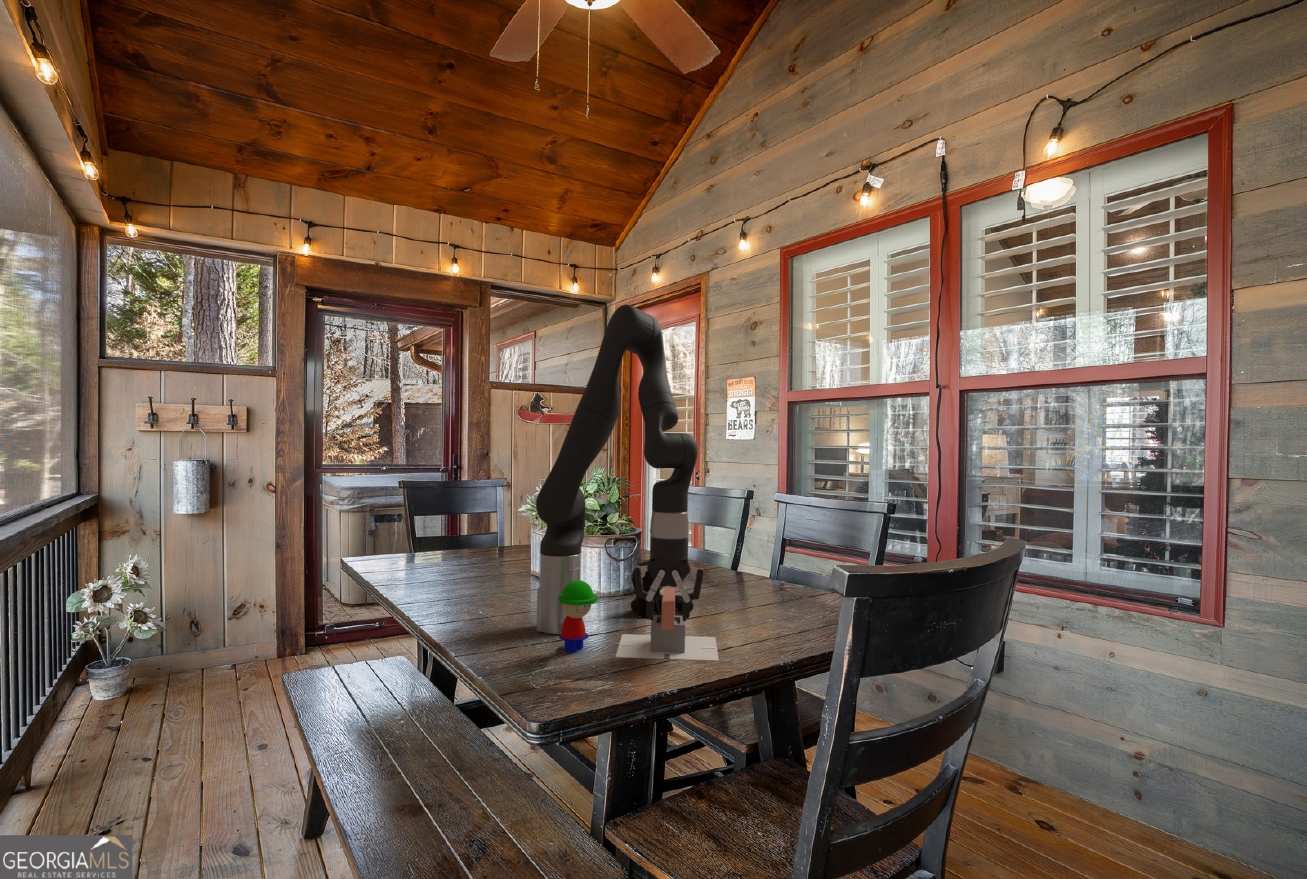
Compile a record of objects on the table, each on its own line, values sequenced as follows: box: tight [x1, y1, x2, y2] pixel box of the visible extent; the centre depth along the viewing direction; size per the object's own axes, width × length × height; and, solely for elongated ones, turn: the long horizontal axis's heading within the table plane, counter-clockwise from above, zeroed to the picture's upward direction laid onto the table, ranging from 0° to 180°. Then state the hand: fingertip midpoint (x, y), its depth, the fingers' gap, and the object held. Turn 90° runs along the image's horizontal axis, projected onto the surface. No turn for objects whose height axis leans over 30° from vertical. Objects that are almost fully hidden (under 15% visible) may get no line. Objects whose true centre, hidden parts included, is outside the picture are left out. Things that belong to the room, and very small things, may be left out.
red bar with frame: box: [650, 587, 686, 653], centre depth 134 cm, size 14×7×10 cm, turn 177°
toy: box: [558, 580, 599, 654], centre depth 131 cm, size 8×8×15 cm
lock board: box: [614, 620, 720, 662], centre depth 134 cm, size 20×15×6 cm
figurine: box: [630, 558, 694, 619], centre depth 165 cm, size 16×14×15 cm
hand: (667, 619), depth 129 cm, fingers open, 6 cm apart
